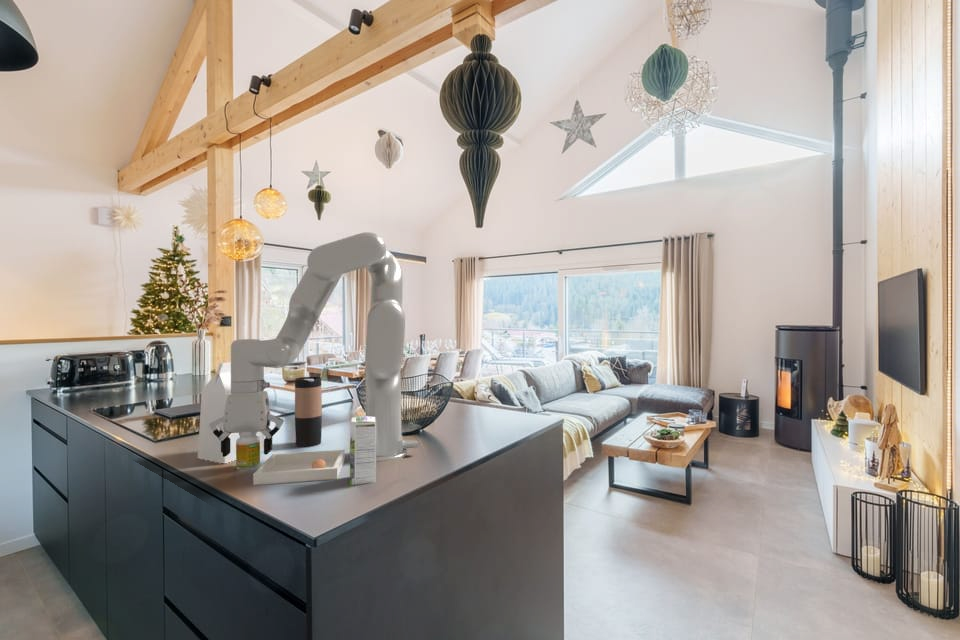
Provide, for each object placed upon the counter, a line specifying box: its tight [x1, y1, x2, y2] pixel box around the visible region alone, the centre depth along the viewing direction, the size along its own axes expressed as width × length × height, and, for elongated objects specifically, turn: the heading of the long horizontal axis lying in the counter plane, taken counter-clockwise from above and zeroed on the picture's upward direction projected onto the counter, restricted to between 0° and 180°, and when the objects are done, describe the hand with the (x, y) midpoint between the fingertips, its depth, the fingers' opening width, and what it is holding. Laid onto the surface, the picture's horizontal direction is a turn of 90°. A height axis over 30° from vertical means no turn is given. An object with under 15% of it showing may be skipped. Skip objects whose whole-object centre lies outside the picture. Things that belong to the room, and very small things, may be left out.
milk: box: [197, 361, 265, 464], centre depth 122 cm, size 12×12×26 cm
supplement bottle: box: [235, 432, 261, 470], centre depth 111 cm, size 5×5×10 cm
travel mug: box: [294, 376, 323, 448], centre depth 132 cm, size 8×8×20 cm
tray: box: [252, 449, 346, 486], centre depth 106 cm, size 18×15×3 cm
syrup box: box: [349, 415, 377, 486], centre depth 100 cm, size 6×6×14 cm
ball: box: [312, 459, 326, 469], centre depth 105 cm, size 3×3×3 cm
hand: (246, 454), depth 111 cm, fingers open, 9 cm apart
